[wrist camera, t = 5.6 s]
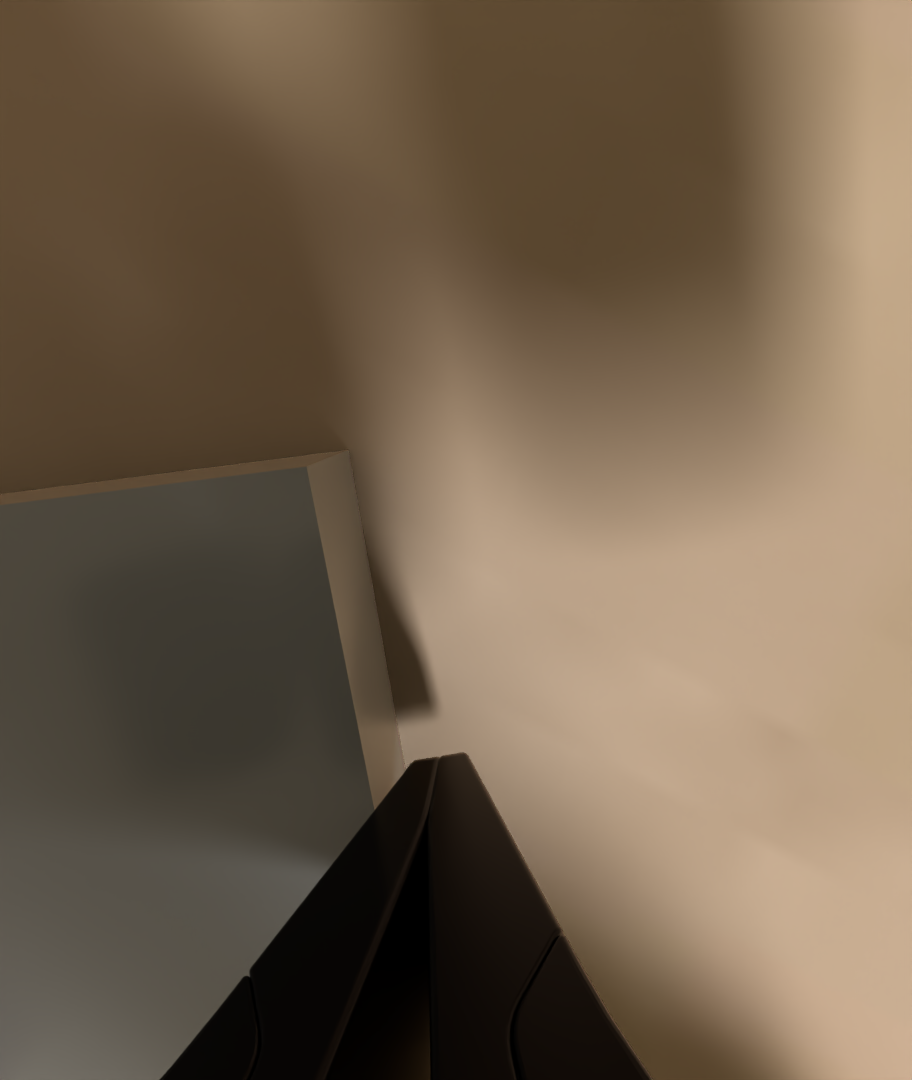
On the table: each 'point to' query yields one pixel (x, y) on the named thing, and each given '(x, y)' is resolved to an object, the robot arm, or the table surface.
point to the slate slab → (174, 745)
